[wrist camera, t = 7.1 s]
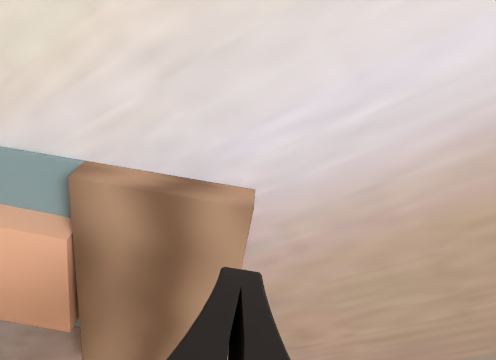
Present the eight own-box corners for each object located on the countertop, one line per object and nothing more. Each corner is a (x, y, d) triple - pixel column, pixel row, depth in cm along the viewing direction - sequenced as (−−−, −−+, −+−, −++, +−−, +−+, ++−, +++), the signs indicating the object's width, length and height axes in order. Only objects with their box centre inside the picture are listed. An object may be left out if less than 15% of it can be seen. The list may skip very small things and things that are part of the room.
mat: (-20, 307, 28) (-24, 311, 28) (-65, 135, 21) (-71, 138, 21) (93, 324, 28) (91, 329, 28) (84, 160, 22) (81, 163, 21)
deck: (94, 342, 29) (83, 365, 28) (84, 160, 22) (68, 177, 20) (220, 361, 30) (217, 386, 28) (255, 189, 22) (253, 208, 20)
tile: (-1, 293, 27) (-21, 316, 25) (-17, 200, 23) (-41, 219, 21) (83, 309, 27) (70, 332, 25) (82, 219, 23) (66, 240, 21)
